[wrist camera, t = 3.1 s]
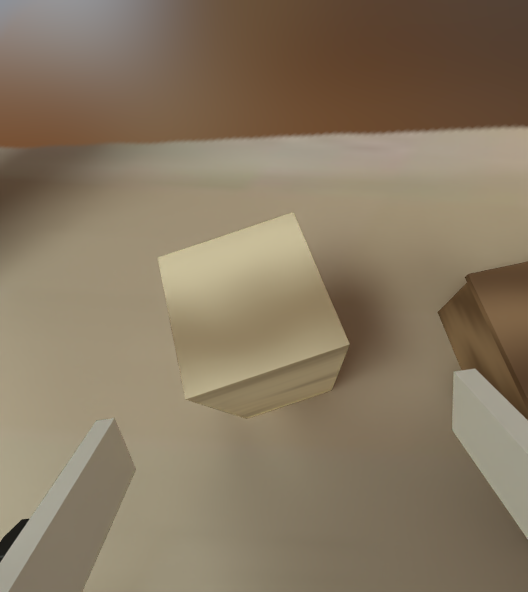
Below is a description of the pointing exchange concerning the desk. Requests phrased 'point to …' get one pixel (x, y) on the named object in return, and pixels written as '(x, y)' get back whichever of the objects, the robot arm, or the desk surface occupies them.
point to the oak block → (252, 320)
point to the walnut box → (493, 329)
